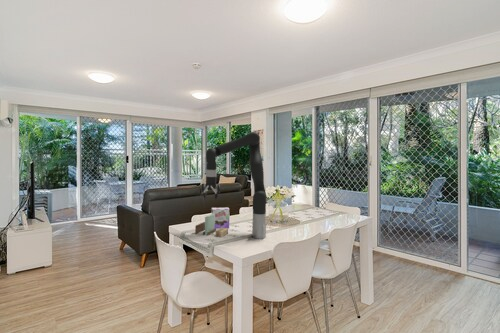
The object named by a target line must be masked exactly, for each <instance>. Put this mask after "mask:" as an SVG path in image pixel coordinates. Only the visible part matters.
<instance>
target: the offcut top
mask: <svg viewBox="0 0 500 333" xmlns="http://www.w3.org/2000/svg"><path fill="white" fill-rule="evenodd" d="M227 231H228V232H229V228H218V229H216V232H215V235H216V234H224V233H225V232H227Z"/></svg>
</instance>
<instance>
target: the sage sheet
mask: <svg viewBox="0 0 500 333" xmlns="http://www.w3.org/2000/svg"><path fill="white" fill-rule="evenodd" d="M204 222H205V230H204V232H205V235H204V236H207V233H208V232H210V231H212V230H214V228H215V214H212V213H211V214H209V215H205V217H204Z"/></svg>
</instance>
